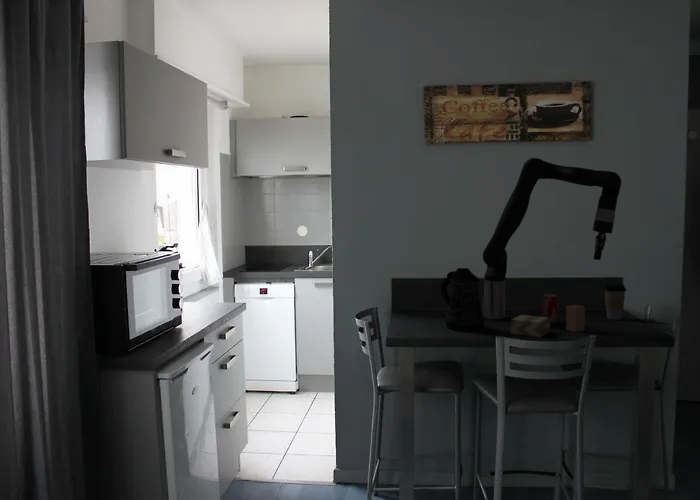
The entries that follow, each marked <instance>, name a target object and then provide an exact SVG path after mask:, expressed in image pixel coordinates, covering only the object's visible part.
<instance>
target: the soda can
mask: <svg viewBox="0 0 700 500" xmlns="http://www.w3.org/2000/svg"><path fill="white" fill-rule="evenodd" d="M540 317H547V318H550V324H555V323H556V322H558V318H559V299H558V296H557V295H556V294H553V293H552V294H551V293H545V294H542V297H541V301H540Z"/></svg>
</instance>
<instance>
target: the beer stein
mask: <svg viewBox="0 0 700 500" xmlns="http://www.w3.org/2000/svg"><path fill="white" fill-rule="evenodd" d="M479 284H480V278H479V277H478V276H477V275H476V274H474V273H473V272H472V271H471V270H470V268H466V267H459V268H457V269H456V270H453V271H450V272H448V273H447V274H446V277H445V278H443V279H442V280H441V283H440V286H439V288H440V293H441V297H442V299H443V301H444V302H445V303H446V304H447V306H448V310H447V314H446V316H445V327H446V329H448V330H451V331H457V332H458V331H459V332H478V331H482V330H484V329H485V321H486V320H485V319H486V318H484V317H483V309H482V307H481V306H482V305H481V299H480V294H479ZM448 285H451V288H450V295H449V293H448Z"/></svg>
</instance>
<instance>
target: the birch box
mask: <svg viewBox="0 0 700 500" xmlns="http://www.w3.org/2000/svg"><path fill="white" fill-rule="evenodd" d="M550 331H551V323H550V318H547V317H541V316H537V315H536V316H535V315H526V314H520V315H518V316H515V317H514V318H511V319H510V334H511V335H520V336H526V335H527V336H528V337H534V338H535V337H536V338H542V337H543V336H545V335H546V334H549V333H550Z"/></svg>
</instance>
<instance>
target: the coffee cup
mask: <svg viewBox="0 0 700 500" xmlns="http://www.w3.org/2000/svg"><path fill="white" fill-rule="evenodd" d="M603 290H604V299H605V308H606V318H607V319H608V320H613V321H617V320H618V321H619V320H622V316H623V309H624V306H625V305H624V303H625V299H626V297H625V293H626V291H627V288H626V287H625V285H624V284H619V283H618V284H617V283H616V284H615V283H612V284H610V283H609V284H607V283H606V284H605V286H604V287H603Z"/></svg>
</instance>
